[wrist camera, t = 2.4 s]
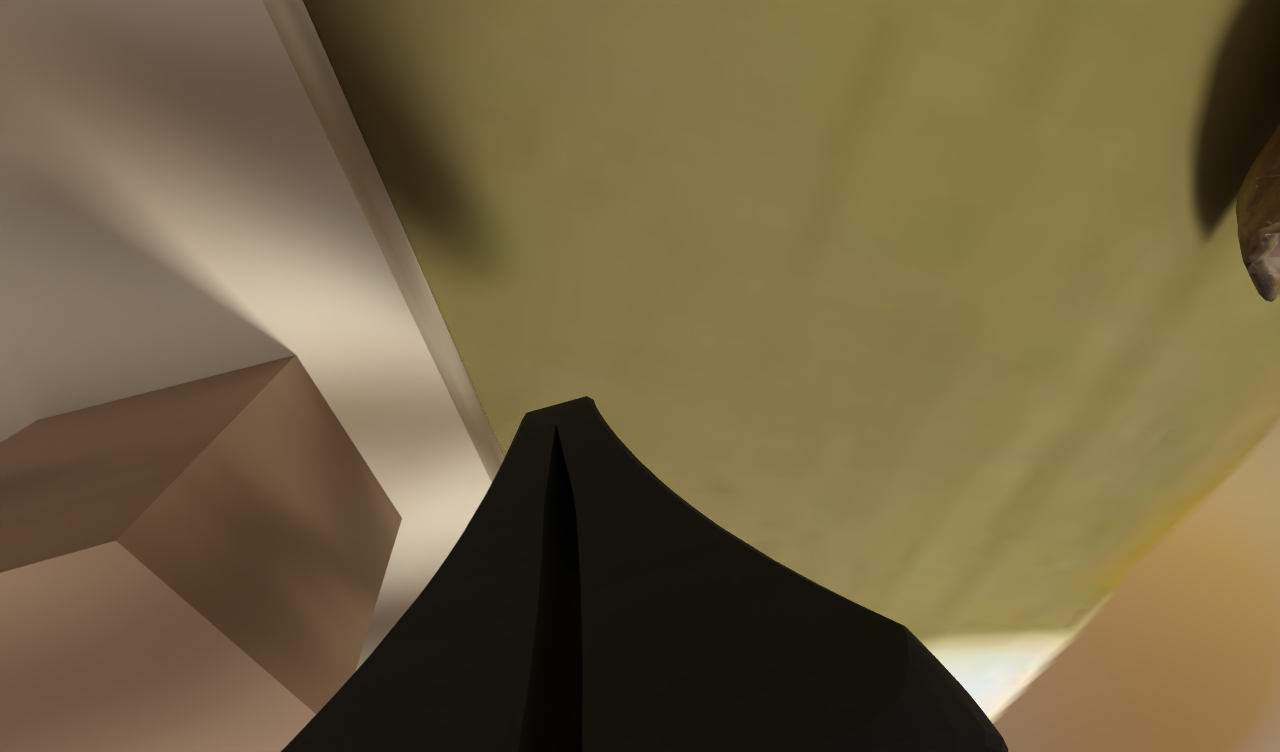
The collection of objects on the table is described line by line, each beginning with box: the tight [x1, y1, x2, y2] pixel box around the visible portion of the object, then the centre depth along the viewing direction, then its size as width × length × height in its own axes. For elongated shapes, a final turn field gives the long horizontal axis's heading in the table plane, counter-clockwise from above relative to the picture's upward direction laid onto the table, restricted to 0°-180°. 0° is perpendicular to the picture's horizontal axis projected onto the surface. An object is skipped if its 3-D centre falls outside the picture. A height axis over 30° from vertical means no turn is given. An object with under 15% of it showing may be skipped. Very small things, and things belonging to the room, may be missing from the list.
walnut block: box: [0, 355, 402, 752], centre depth 9 cm, size 5×5×5 cm
